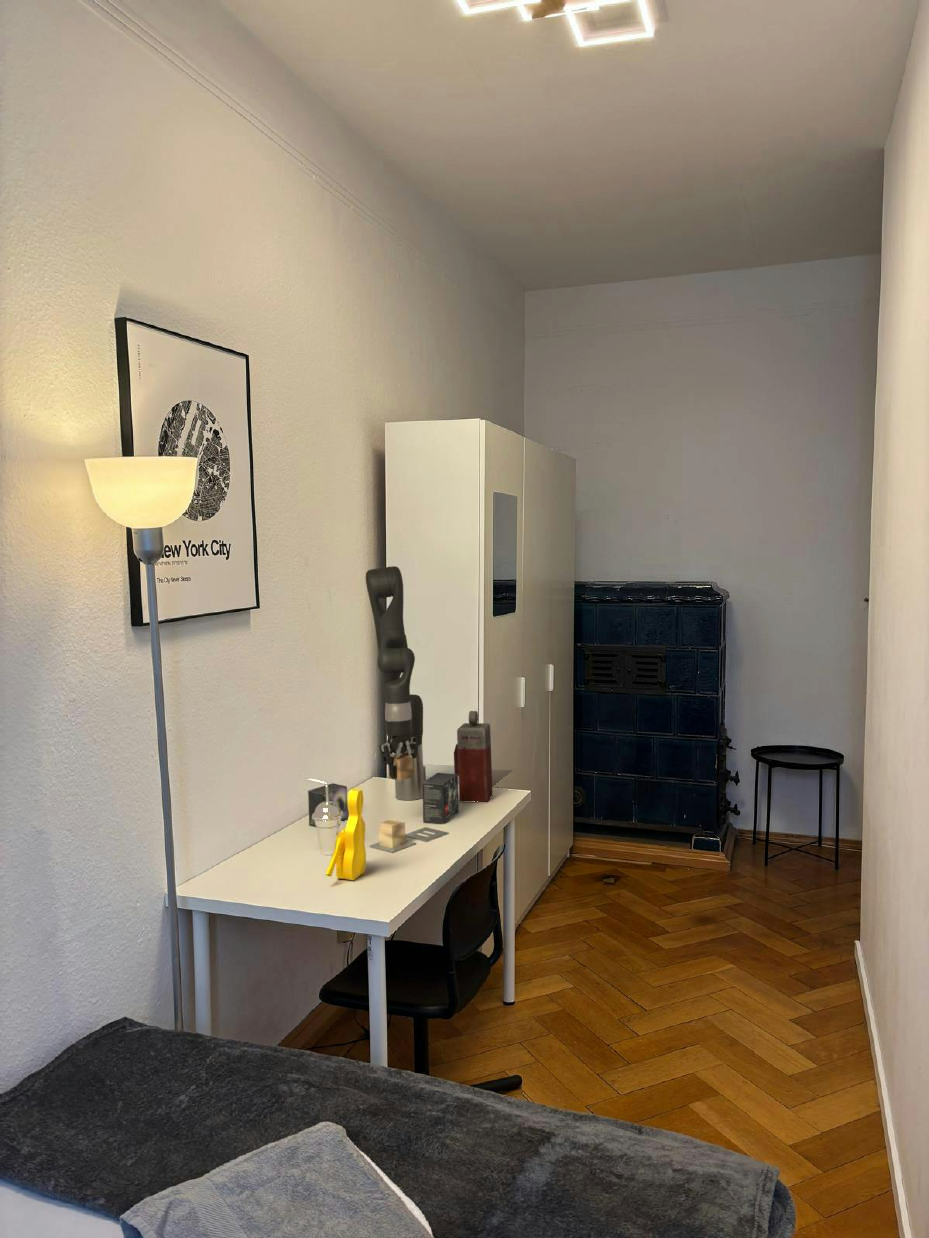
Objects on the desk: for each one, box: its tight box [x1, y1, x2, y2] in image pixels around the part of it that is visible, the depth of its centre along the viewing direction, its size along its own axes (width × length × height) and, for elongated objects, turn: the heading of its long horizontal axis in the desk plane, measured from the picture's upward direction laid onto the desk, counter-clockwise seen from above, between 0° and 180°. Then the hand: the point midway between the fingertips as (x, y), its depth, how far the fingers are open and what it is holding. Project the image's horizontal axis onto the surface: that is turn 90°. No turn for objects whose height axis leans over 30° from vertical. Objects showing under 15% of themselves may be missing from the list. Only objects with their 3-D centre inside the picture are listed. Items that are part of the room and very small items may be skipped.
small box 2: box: [422, 772, 460, 825], centre depth 283 cm, size 13×7×12 cm, turn 161°
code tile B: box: [369, 840, 417, 854], centre depth 259 cm, size 9×9×1 cm
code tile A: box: [405, 826, 449, 843], centre depth 267 cm, size 9×9×1 cm
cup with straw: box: [307, 777, 344, 856], centre depth 254 cm, size 8×9×20 cm
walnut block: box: [387, 755, 413, 781], centre depth 274 cm, size 5×5×6 cm
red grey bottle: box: [453, 710, 493, 803], centre depth 302 cm, size 9×11×28 cm
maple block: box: [378, 818, 407, 848], centre depth 258 cm, size 5×5×6 cm
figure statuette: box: [325, 788, 367, 881], centre depth 235 cm, size 18×8×22 cm, turn 159°
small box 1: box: [307, 782, 349, 828], centre depth 282 cm, size 11×6×10 cm, turn 143°
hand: (400, 775), depth 275 cm, fingers closed on walnut block, 5 cm apart
